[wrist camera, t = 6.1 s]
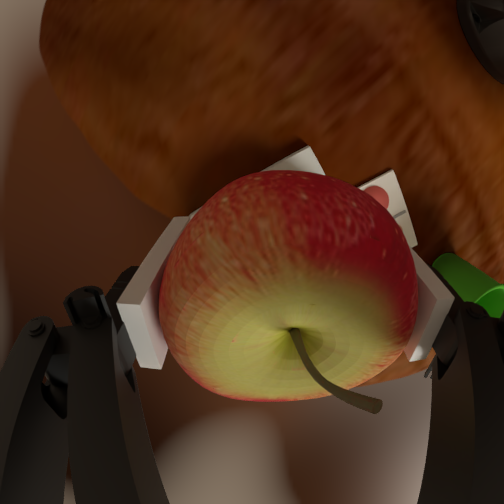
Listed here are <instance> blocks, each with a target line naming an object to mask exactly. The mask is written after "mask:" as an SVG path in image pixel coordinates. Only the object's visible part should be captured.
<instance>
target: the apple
mask: <svg viewBox="0 0 504 504" xmlns="http://www.w3.org/2000/svg"><path fill="white" fill-rule="evenodd" d="M417 311H418V283H417V274H416V268H415V264H414V260H413V257H412V254H411V251H410V248H409V245H408V243H407V240H406V238H405V236H404V234H403V232H402V230H401V228H400V227H399V225H398V224H397V222H396V221H395V219H394V218H393V217H392V215H391V214H390V213H389V211H388V210H387V209H386V208H385V207H383V206H382V205H381V204H380V203H379V202H378V201H377V200H376V199H374V198H373V197H372V196H371V195H369V194H367V193H366V192H364V191H363V190H361V189H359V188H357V187H355V186H353V185H351V184H348V183H346V182H344V181H342V180H339V179H336V178H333V177H330V176H326V175H322V174H318V173H312V172H305V171H295V170H271V171H262V172H257V173H252V174H249V175H246V176H243V177H240V178H238V179H236V180H234V181H232V182H231V183H229V184H227V185H226V186H224V187H223V188H222V189H220V190H219V191H218V192H217V193H215V194H214V195H213V196H212V197H211V198H210V199H209V200H208V201H207V202H206V203H205V204H204V205H203V206H202V207H201V208H200V209H199V211H198V212H197V213H196V214H195V215H194V216H193V218H192V219H191V220H190V222H189V223H188V224H187V225H186V227H185V228H184V230H183V232H182V233H181V235H180V236H179V238H178V240H177V242H176V244H175V246H174V248H173V250H172V252H171V254H170V256H169V259H168V261H167V264H166V266H165V270H164V273H163V277H162V282H161V286H160V292H159V319H160V323H161V327H162V331H163V335H164V339H165V341H166V343H167V346H168V348H169V350H170V352H171V353H172V355H173V357H174V358H175V359H176V361H177V362H178V364H179V365H180V366H181V367H182V368H183V370H184V371H185V372H186V373H187V374H188V375H189V376H190V377H191V378H192V379H193V380H194V381H195V382H197V383H198V384H199V385H201V386H202V387H204V388H206V389H207V390H209V391H211V392H214V393H216V394H219V395H222V396H225V397H228V398H233V399H238V400H246V401H263V402H270V401H271V402H272V401H273V402H274V401H295V400H305V399H313V398H319V397H324V396H329V395H334V396H336V397H337V398H339V399H341V400H343V401H345V402H346V403H348V404H351V405H353V406H355V407H357V408H360V409H362V410H365V411H368V412H370V413H373V414H377V413H378V412H379V411H380V410H381V408H382V400H380V399H376V398H372V397H368V396H365V395H361V394H358V393H354V392H352V391H349V390H348V389H350V388H353V387H355V386H357V385H360V384H362V383H364V382H365V381H367V380H369V379H371V378H372V377H374V376H376V375H377V374H378V373H380V372H381V371H383V370H384V369H385V368H387V367H388V366H389V365H390V364H391V363H393V362H394V361H395V360H396V359H397V358H398V357H399V356H400V354H401V353H402V352H403V351H404V349H405V348H406V346H407V344H408V342H409V340H410V338H411V335H412V332H413V329H414V326H415V323H416V318H417Z"/></svg>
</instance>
